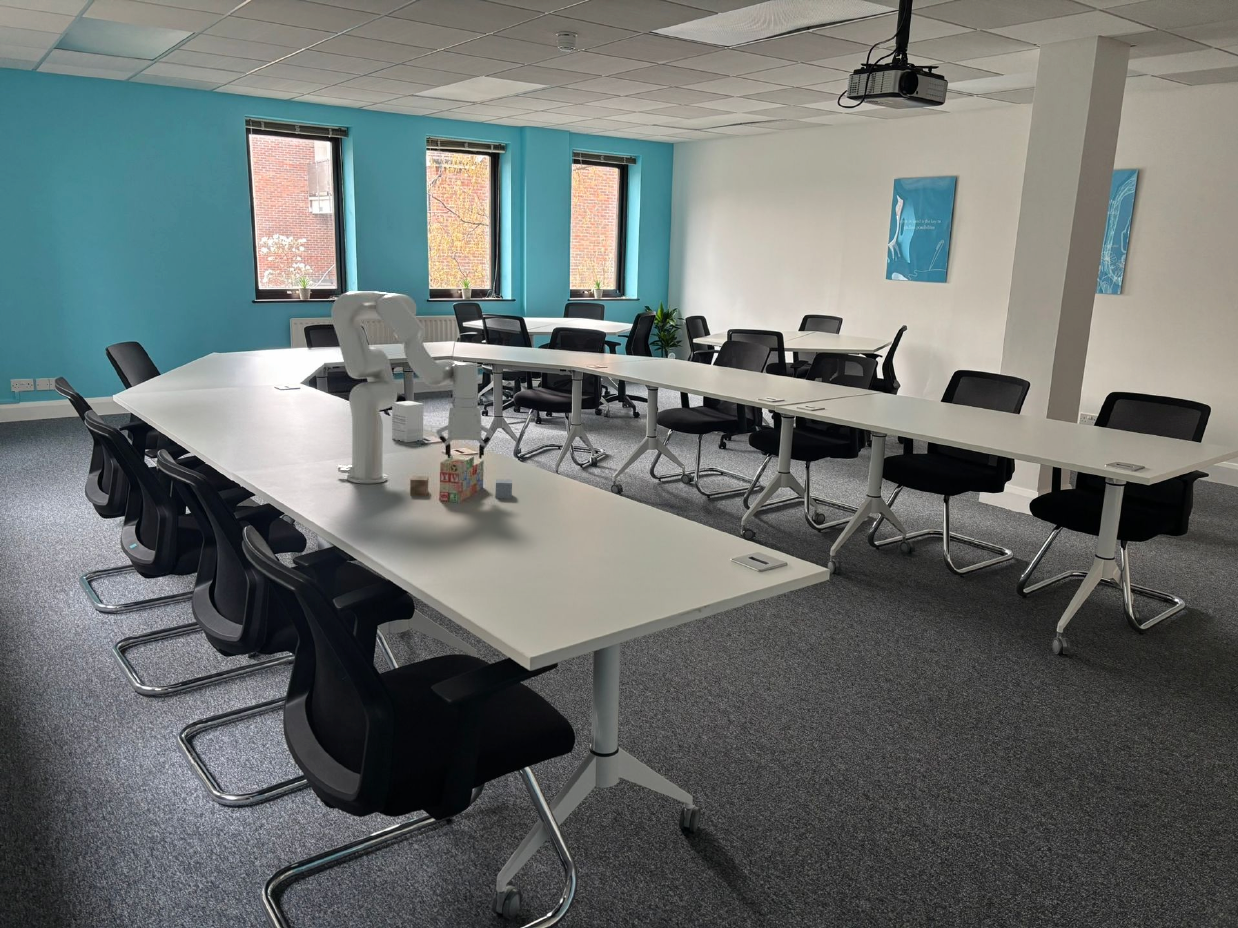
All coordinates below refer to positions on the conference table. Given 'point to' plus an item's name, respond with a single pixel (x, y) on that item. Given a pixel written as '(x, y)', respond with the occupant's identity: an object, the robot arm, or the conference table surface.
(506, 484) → the slate cube
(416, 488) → the walnut cube
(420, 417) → the supplement box
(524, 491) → the conference table surface
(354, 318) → the robot arm
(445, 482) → the stack of blocks
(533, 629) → the conference table surface
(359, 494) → the conference table surface
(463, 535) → the conference table surface
